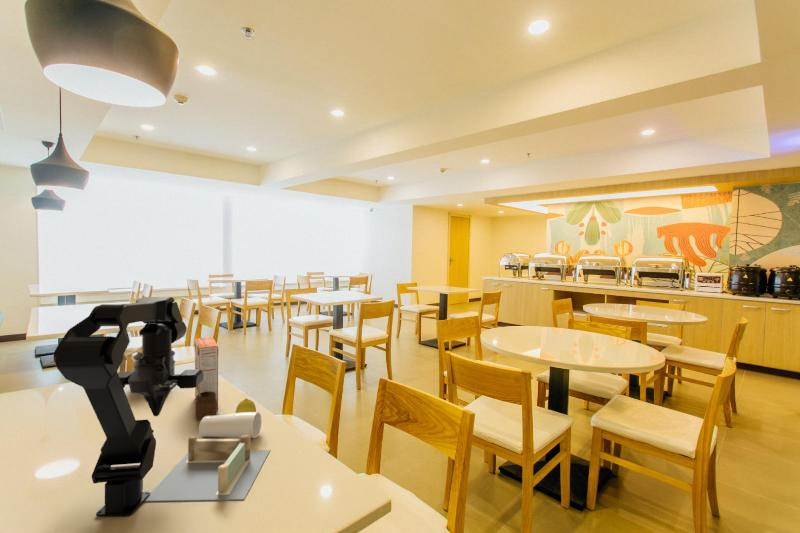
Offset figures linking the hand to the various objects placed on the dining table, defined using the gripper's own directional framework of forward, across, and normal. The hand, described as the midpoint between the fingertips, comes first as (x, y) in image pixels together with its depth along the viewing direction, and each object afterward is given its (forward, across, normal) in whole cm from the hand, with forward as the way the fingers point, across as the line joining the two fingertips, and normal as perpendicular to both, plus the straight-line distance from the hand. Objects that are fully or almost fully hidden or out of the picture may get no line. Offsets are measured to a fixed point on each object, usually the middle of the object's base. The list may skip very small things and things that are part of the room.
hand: (156, 415), depth 87 cm
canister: (+12, -23, +55) cm, 61 cm away
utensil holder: (+12, +3, +26) cm, 29 cm away
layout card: (+12, +14, -5) cm, 19 cm away
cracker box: (+12, 0, +36) cm, 38 cm away
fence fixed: (+12, +14, 0) cm, 18 cm away
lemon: (+12, +16, +18) cm, 27 cm away
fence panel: (+11, +19, -8) cm, 23 cm away
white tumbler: (+9, +6, +14) cm, 17 cm away
